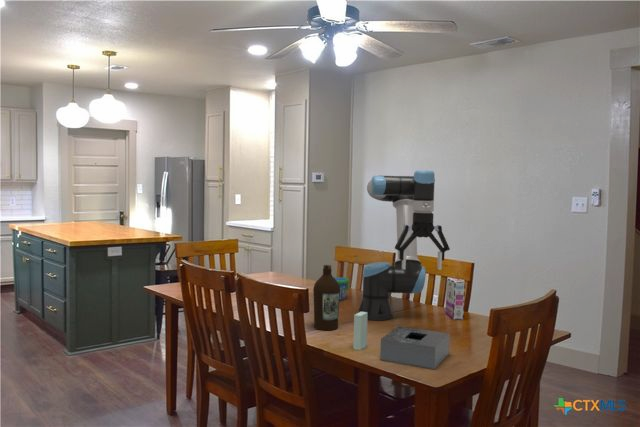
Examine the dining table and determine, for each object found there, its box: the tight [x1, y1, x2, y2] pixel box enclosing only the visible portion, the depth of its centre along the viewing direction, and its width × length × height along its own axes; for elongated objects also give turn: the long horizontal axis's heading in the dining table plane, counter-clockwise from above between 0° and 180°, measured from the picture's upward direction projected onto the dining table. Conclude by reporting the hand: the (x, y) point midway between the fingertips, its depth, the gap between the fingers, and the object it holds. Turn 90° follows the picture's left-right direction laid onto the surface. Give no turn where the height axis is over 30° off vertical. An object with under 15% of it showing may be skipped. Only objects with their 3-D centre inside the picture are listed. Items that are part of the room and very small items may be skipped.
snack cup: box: [333, 276, 350, 301], centre depth 269 cm, size 16×10×10 cm
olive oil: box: [312, 264, 341, 332], centre depth 215 cm, size 11×11×25 cm
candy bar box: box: [445, 277, 466, 321], centre depth 237 cm, size 11×5×16 cm, turn 5°
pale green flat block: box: [353, 312, 368, 351], centre depth 190 cm, size 2×6×12 cm, turn 153°
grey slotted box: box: [379, 326, 451, 370], centre depth 181 cm, size 18×18×7 cm
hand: (421, 269), depth 202 cm, fingers open, 13 cm apart
